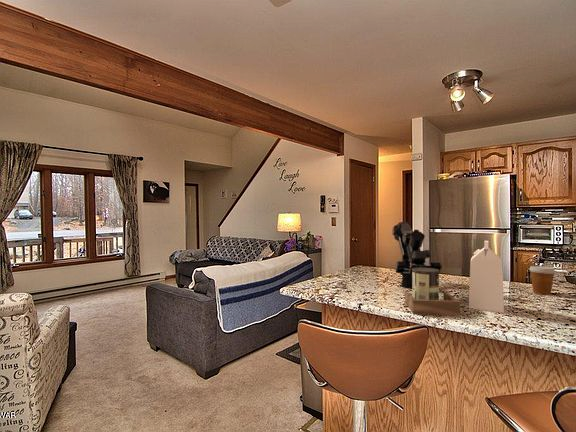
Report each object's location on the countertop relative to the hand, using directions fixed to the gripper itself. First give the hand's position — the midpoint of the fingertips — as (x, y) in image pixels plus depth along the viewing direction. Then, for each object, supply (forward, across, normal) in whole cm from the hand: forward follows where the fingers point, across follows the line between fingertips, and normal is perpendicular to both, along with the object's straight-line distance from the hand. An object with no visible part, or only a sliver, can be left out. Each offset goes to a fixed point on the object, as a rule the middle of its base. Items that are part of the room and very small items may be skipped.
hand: (421, 283), depth 138 cm
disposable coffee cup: (-8, +57, +17) cm, 60 cm away
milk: (+10, +23, 0) cm, 25 cm away
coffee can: (+9, 0, +1) cm, 9 cm away
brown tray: (+14, 0, -4) cm, 14 cm away
